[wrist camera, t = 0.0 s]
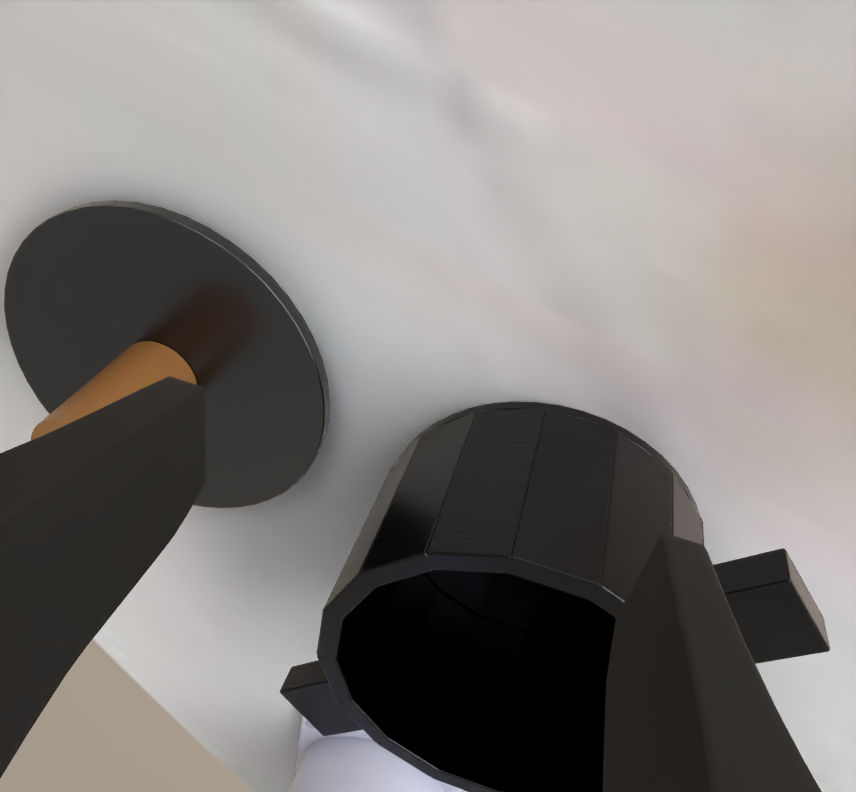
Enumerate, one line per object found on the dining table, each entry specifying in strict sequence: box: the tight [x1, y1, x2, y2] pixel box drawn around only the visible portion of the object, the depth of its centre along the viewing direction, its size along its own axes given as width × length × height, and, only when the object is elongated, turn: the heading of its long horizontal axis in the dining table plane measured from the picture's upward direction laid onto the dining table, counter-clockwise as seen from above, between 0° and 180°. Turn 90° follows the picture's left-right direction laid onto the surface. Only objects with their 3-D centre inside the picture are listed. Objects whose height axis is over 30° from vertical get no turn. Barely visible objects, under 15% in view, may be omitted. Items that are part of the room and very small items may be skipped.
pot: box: [280, 402, 830, 792], centre depth 22 cm, size 10×16×6 cm, turn 125°
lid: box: [4, 201, 330, 508], centre depth 23 cm, size 11×11×6 cm
